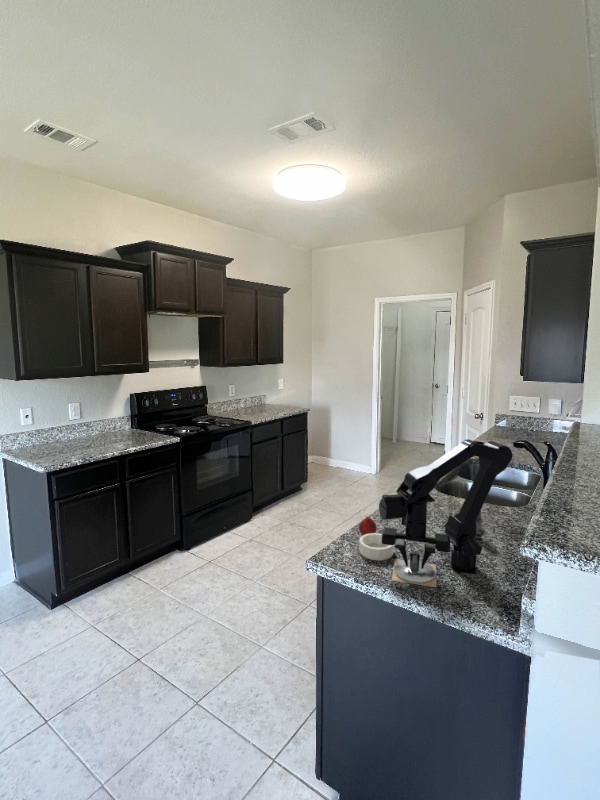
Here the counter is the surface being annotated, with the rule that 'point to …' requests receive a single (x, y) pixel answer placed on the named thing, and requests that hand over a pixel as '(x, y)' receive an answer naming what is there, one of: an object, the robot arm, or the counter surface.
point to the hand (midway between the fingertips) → (414, 566)
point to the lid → (414, 570)
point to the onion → (367, 526)
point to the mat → (431, 583)
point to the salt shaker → (479, 530)
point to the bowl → (375, 547)
